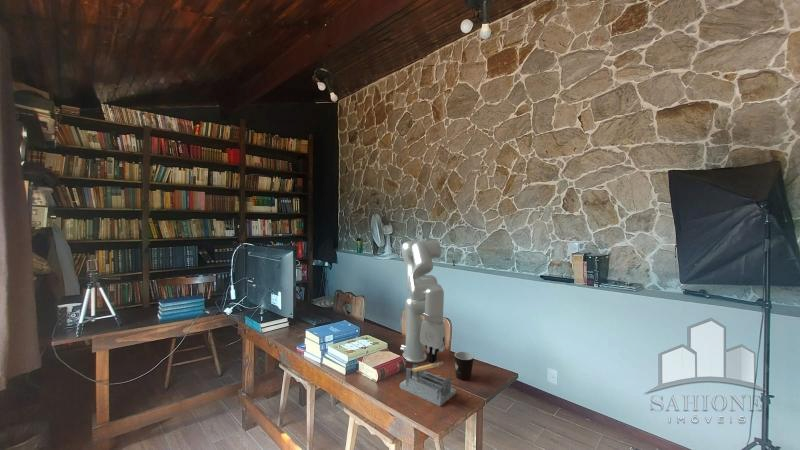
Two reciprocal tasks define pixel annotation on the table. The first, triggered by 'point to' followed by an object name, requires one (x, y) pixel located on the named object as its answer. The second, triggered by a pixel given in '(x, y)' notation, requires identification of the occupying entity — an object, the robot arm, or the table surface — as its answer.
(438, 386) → the grey slotted holder
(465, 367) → the coffee mug
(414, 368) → the tan rectangular bar
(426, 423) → the table surface
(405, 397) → the table surface
